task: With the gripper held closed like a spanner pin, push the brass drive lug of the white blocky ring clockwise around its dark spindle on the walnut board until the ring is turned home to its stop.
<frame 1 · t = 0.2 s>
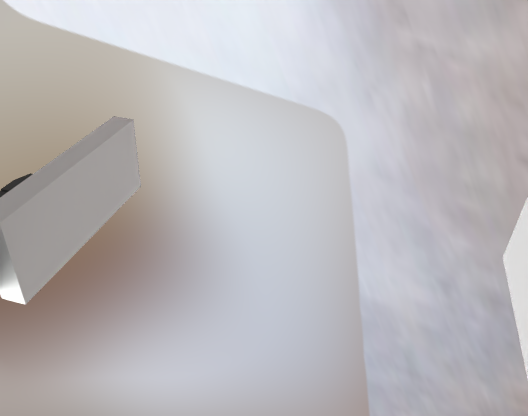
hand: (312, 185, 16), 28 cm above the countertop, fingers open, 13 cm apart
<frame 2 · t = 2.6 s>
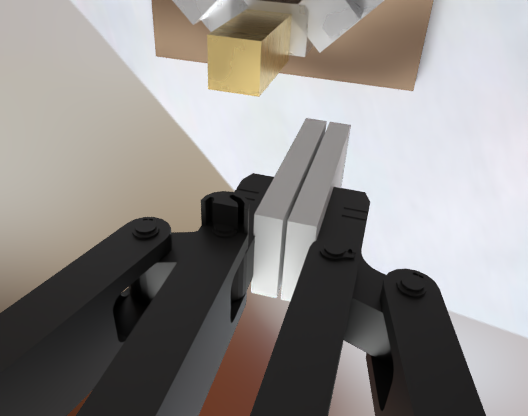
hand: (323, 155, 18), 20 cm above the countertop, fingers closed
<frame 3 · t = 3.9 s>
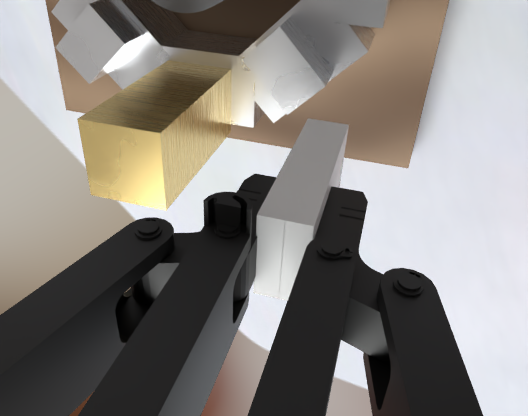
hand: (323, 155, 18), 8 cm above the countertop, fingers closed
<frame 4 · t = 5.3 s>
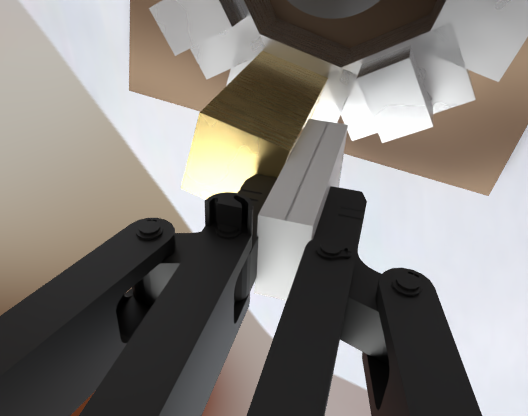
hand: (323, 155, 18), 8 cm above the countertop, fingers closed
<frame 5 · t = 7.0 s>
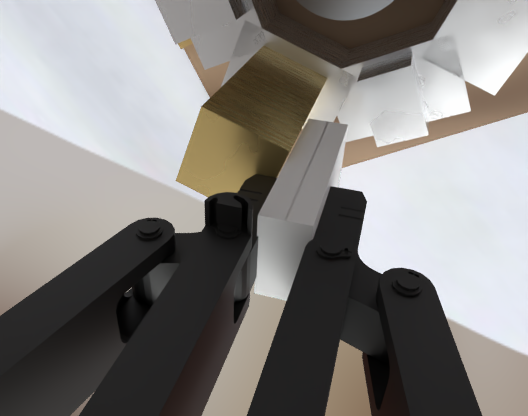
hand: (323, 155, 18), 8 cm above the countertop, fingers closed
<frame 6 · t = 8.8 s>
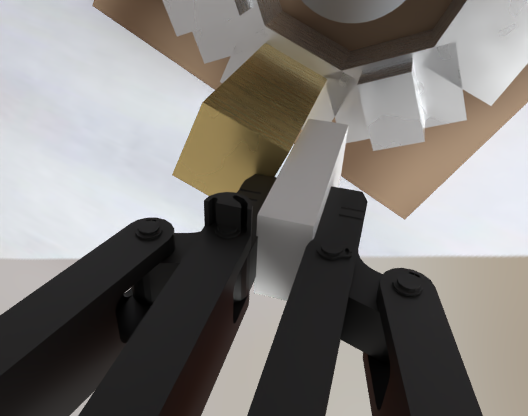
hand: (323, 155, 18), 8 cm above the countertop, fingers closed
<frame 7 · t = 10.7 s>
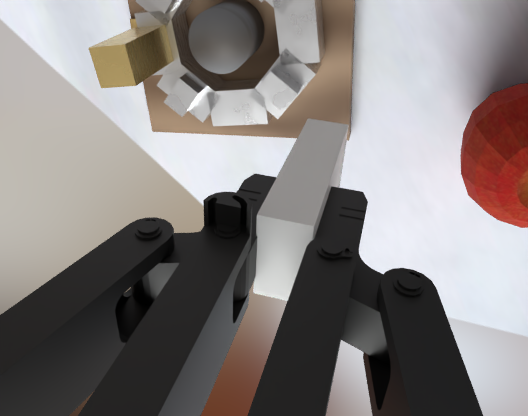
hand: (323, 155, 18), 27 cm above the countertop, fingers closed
board: (241, 25, 44), on the countertop
apple: (514, 118, 42), on the countertop
white blocky ring: (214, 43, 38), point 7 cm above the countertop, hinge at 85.2°
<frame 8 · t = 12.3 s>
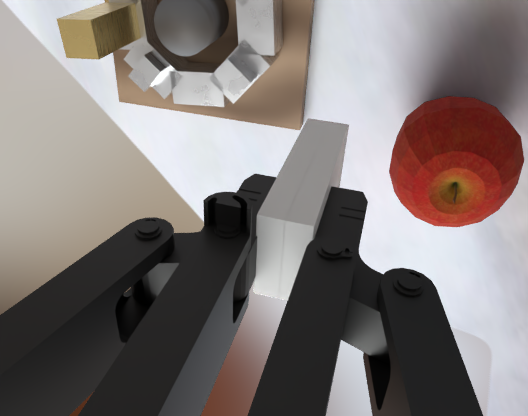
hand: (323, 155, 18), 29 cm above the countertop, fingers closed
board: (209, 11, 46), on the countertop
apple: (449, 126, 46), on the countertop
white blocky ring: (177, 27, 41), point 7 cm above the countertop, hinge at 85.2°
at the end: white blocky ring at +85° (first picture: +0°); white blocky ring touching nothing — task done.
